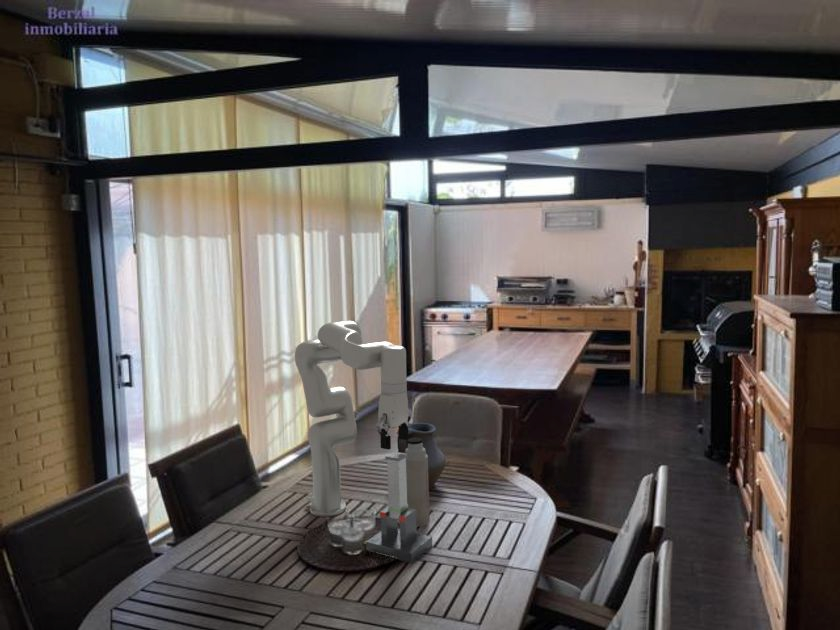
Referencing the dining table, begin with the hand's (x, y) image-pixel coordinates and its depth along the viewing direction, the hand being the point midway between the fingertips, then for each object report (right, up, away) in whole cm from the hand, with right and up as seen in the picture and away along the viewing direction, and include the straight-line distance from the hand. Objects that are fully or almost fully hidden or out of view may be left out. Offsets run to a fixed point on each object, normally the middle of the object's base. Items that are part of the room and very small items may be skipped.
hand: (394, 443), depth 187 cm
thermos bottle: (+7, -30, +22) cm, 38 cm away
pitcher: (+7, -27, +51) cm, 59 cm away
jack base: (+1, -32, +3) cm, 32 cm away
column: (+1, -22, +2) cm, 22 cm away
